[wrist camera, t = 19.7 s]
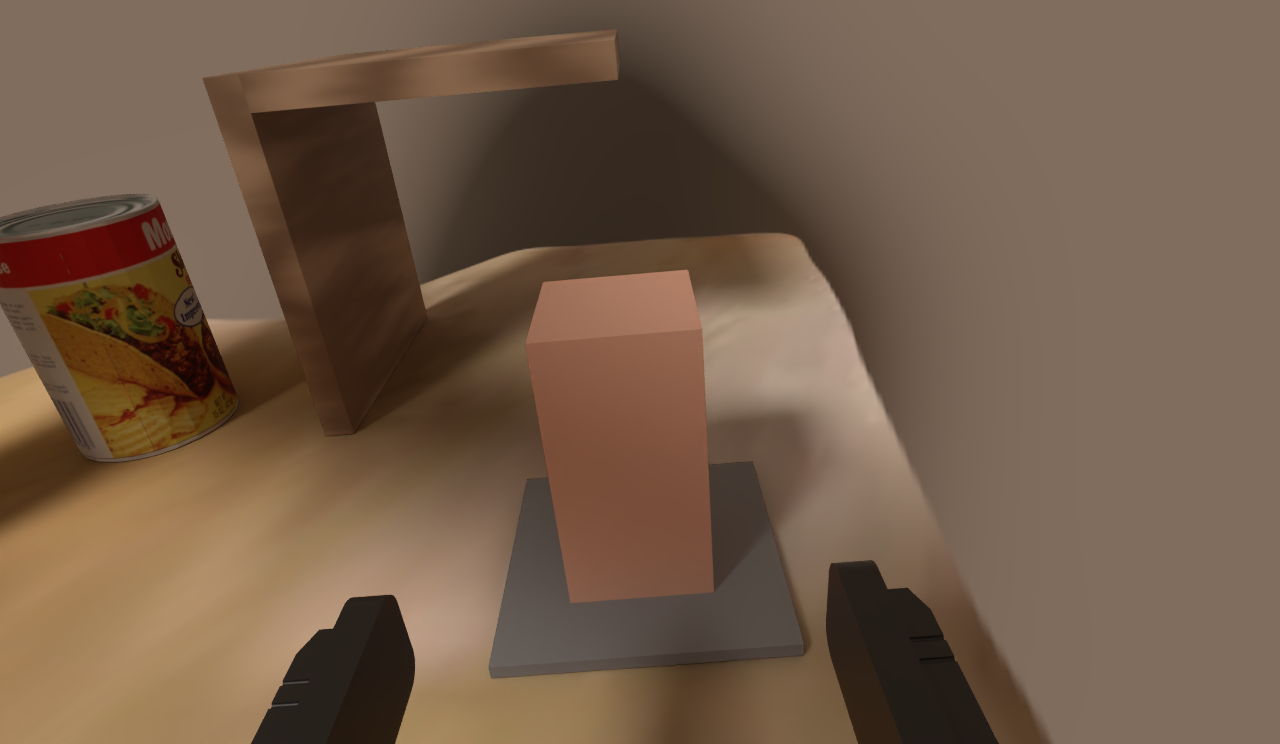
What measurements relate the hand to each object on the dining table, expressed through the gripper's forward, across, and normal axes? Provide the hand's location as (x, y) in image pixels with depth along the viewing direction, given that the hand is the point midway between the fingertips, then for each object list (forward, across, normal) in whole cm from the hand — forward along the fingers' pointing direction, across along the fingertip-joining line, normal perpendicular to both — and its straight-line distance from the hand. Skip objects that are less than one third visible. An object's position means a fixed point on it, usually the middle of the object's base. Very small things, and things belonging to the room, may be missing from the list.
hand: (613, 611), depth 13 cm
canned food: (+25, +27, +9) cm, 38 cm away
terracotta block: (+11, 0, +8) cm, 14 cm away
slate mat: (+11, 0, +9) cm, 14 cm away
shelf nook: (+30, +8, +9) cm, 32 cm away
